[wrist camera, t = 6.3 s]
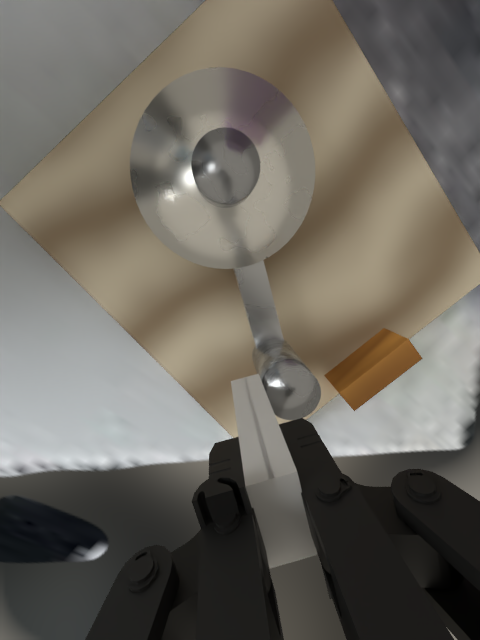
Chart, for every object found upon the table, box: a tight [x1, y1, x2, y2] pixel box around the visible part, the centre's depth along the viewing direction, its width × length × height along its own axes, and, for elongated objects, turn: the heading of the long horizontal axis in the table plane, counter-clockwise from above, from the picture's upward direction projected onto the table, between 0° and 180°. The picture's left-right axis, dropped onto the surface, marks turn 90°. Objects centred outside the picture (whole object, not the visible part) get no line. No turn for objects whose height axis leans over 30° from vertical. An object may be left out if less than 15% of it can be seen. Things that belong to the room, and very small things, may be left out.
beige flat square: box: [0, 0, 480, 438], centre depth 17 cm, size 22×20×4 cm
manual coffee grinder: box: [130, 67, 321, 420], centre depth 14 cm, size 16×9×6 cm, turn 16°
